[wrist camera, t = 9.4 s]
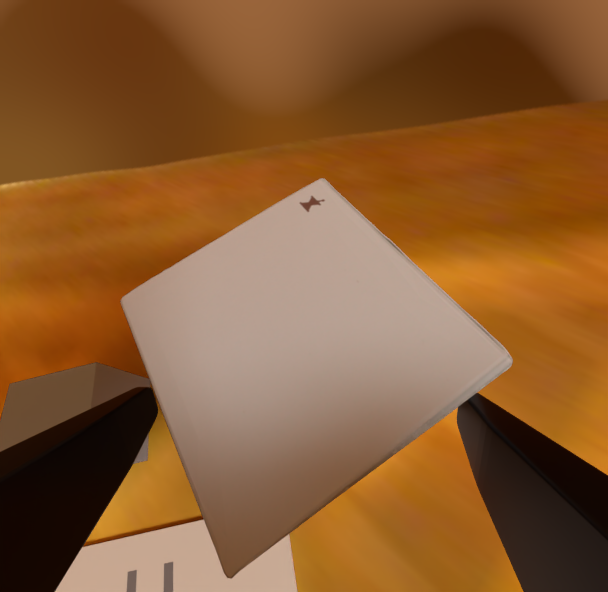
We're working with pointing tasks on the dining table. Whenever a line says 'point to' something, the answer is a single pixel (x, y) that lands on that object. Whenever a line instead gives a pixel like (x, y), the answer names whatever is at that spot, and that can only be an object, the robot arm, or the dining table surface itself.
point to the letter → (175, 565)
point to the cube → (62, 400)
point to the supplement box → (299, 363)
